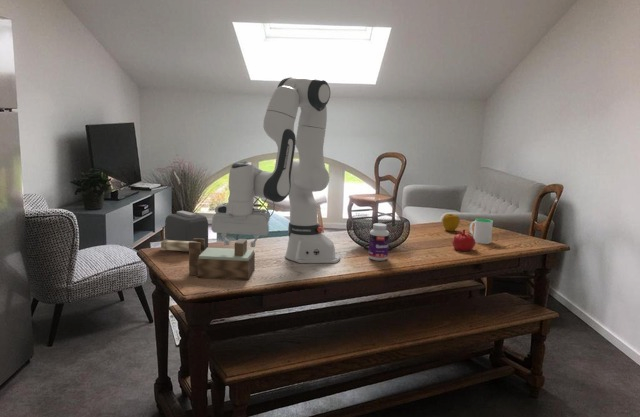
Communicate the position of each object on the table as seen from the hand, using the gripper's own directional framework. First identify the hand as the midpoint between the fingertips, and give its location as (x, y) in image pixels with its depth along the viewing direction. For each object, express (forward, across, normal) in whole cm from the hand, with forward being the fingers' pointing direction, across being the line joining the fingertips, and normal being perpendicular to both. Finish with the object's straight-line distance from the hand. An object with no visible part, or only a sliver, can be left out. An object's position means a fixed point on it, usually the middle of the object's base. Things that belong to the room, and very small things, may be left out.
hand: (239, 245), depth 192 cm
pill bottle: (+10, -52, -30) cm, 61 cm away
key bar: (+3, +22, 0) cm, 22 cm away
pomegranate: (+9, -90, -52) cm, 105 cm away
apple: (+9, -92, -90) cm, 129 cm away
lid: (+4, +5, 0) cm, 6 cm away
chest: (+11, +7, -1) cm, 13 cm away
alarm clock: (+11, +30, -32) cm, 45 cm away
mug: (+9, -102, -70) cm, 124 cm away
